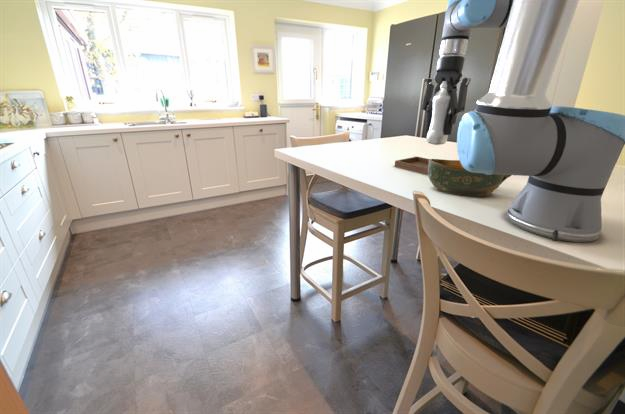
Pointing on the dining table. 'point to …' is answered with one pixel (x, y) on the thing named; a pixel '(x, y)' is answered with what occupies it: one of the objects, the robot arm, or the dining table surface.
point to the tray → (414, 164)
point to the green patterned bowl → (461, 179)
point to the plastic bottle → (439, 116)
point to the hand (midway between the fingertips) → (437, 133)
